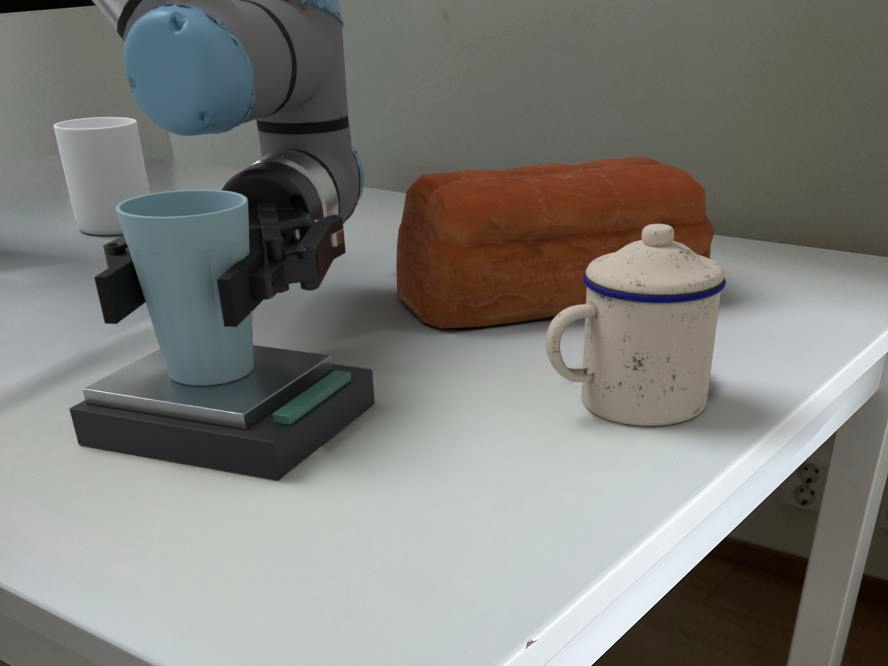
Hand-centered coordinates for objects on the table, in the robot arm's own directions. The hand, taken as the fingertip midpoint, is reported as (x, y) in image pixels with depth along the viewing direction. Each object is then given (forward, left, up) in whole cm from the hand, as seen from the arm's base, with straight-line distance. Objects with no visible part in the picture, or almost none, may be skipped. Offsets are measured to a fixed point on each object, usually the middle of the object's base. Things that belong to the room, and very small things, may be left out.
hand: (166, 301), depth 58 cm
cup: (-1, +5, -6) cm, 8 cm away
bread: (+11, +40, -10) cm, 42 cm away
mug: (-45, +50, -10) cm, 68 cm away
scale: (0, +5, -10) cm, 11 cm away
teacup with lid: (+24, +17, -10) cm, 31 cm away
